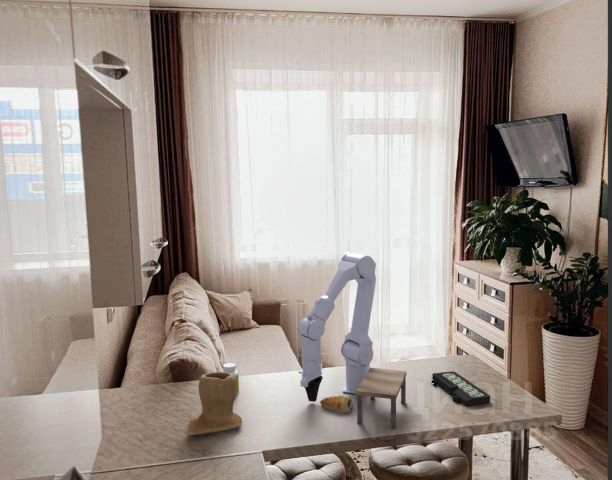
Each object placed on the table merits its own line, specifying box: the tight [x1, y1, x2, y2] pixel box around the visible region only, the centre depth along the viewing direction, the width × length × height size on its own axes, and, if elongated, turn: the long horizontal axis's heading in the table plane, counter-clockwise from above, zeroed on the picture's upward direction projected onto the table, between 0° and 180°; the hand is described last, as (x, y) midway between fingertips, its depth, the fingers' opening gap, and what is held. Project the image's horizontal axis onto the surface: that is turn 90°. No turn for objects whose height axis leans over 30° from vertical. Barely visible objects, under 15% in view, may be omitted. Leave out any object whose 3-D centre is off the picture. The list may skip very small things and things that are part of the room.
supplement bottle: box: [222, 362, 240, 397], centre depth 166 cm, size 5×5×10 cm
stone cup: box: [187, 371, 243, 436], centre depth 144 cm, size 15×12×15 cm
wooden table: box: [355, 367, 407, 430], centre depth 150 cm, size 18×11×10 cm, turn 160°
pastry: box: [319, 395, 354, 414], centre depth 155 cm, size 9×7×4 cm
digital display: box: [431, 370, 491, 408], centre depth 164 cm, size 21×3×10 cm
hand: (312, 400), depth 158 cm, fingers closed
